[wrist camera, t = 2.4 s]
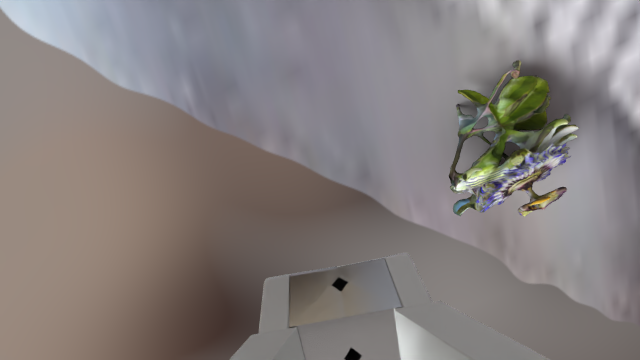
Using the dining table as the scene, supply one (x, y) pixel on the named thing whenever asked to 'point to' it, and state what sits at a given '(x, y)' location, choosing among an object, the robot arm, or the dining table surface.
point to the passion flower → (535, 147)
